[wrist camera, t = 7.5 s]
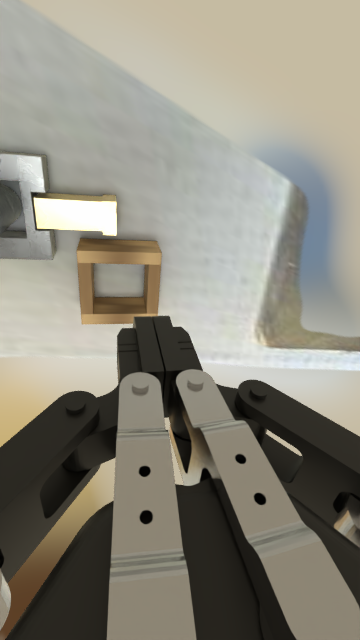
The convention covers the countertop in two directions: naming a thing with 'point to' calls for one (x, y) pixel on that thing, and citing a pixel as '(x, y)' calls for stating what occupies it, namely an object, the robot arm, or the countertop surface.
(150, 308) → the brown square frame
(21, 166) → the socket block
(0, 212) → the grey capsule rod
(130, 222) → the countertop surface
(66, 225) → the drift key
